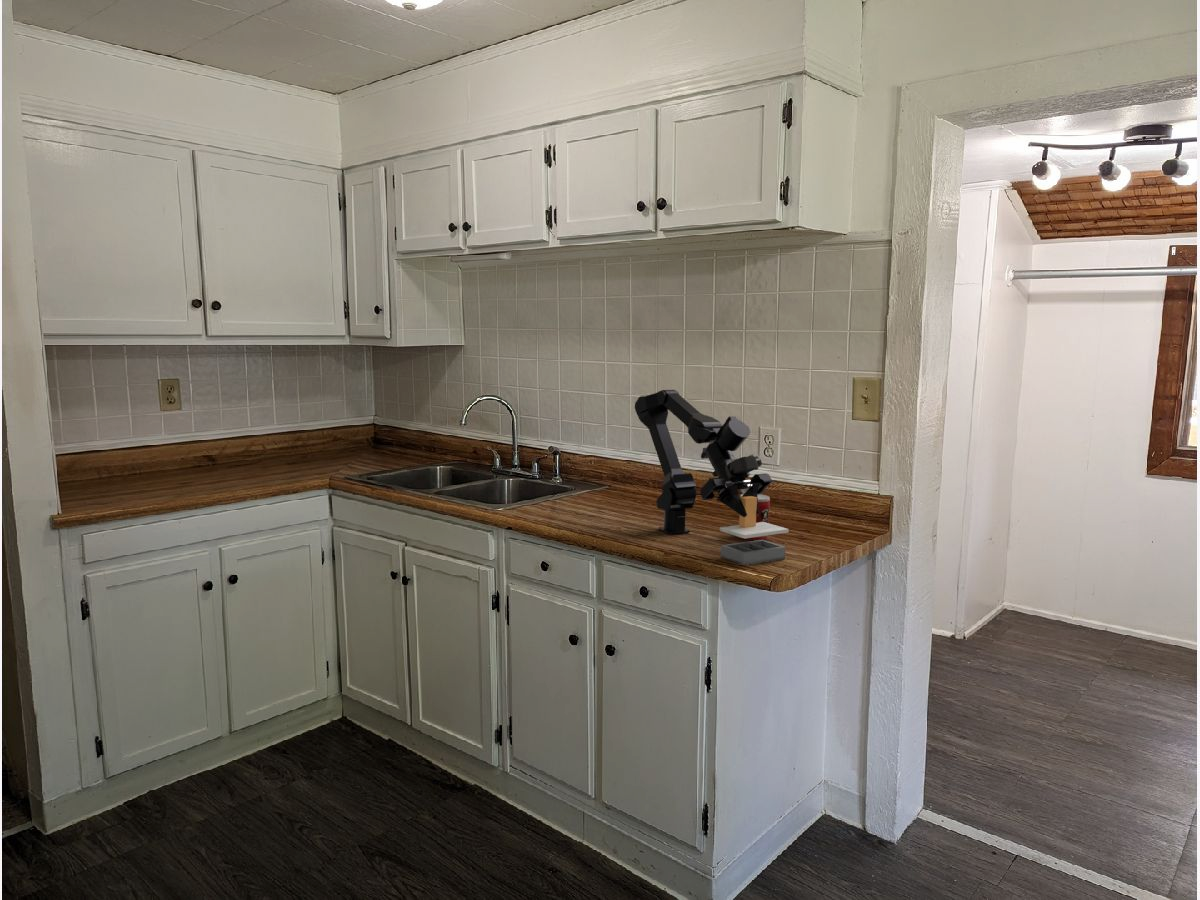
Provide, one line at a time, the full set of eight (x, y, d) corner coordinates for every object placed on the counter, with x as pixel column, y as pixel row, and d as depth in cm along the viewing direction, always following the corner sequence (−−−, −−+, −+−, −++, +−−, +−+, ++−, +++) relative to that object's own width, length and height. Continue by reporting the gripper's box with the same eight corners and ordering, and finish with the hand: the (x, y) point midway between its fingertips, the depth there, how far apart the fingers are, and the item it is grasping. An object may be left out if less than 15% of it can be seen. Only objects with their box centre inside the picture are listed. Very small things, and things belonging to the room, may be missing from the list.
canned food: (753, 542, 219) (755, 500, 218) (731, 536, 226) (733, 495, 224) (774, 538, 224) (776, 497, 222) (752, 532, 230) (754, 492, 229)
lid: (719, 530, 202) (721, 498, 201) (763, 525, 210) (765, 493, 209) (744, 538, 195) (746, 505, 194) (788, 532, 203) (790, 500, 202)
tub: (720, 557, 203) (721, 545, 203) (761, 551, 210) (762, 539, 210) (743, 565, 197) (744, 553, 196) (784, 559, 204) (785, 546, 203)
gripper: (710, 444, 200) (739, 499, 192) (769, 440, 210) (799, 493, 202) (687, 472, 208) (714, 526, 200) (746, 467, 218) (773, 519, 210)
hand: (751, 515), depth 203 cm, fingers closed on lid, 3 cm apart
